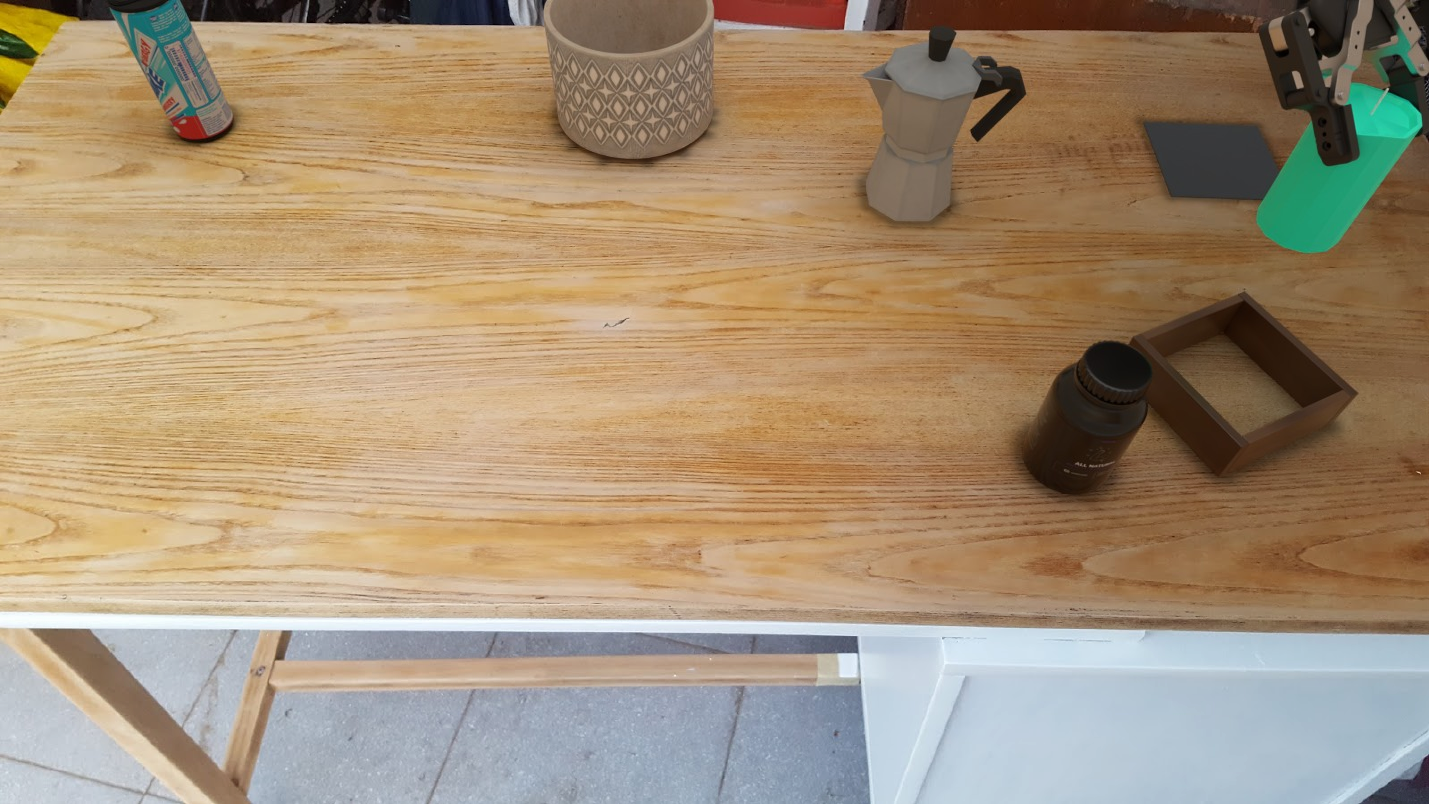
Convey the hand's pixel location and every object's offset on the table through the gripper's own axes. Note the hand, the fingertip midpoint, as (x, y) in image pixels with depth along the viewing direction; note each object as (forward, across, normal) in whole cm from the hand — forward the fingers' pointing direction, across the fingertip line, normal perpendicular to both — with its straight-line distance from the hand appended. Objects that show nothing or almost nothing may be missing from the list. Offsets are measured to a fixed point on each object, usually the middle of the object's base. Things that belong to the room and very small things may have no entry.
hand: (1377, 149), depth 64 cm
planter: (-21, -34, +53) cm, 66 cm away
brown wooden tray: (+18, -5, +13) cm, 23 cm away
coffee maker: (-5, -13, +36) cm, 39 cm away
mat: (+1, +17, +30) cm, 35 cm away
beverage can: (-34, -75, +65) cm, 105 cm away
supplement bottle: (+17, -20, +14) cm, 30 cm away
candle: (+5, 0, +7) cm, 9 cm away
